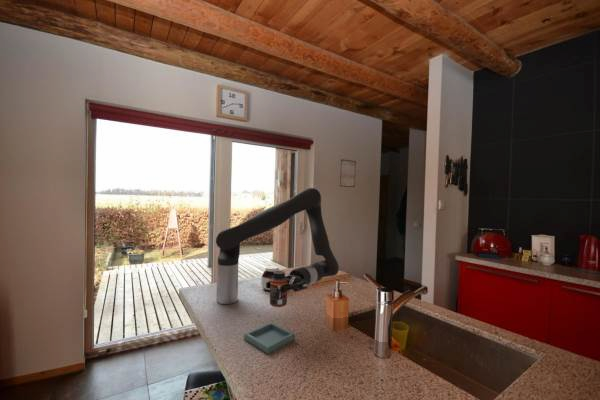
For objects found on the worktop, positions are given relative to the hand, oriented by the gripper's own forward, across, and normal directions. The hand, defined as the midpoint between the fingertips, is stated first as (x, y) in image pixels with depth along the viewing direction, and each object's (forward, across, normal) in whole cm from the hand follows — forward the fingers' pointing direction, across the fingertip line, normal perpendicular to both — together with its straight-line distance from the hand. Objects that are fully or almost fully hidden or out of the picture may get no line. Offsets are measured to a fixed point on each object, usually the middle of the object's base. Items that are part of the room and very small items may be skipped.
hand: (273, 287), depth 93 cm
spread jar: (-38, -35, +18) cm, 55 cm away
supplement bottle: (-2, 0, +7) cm, 7 cm away
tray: (+1, 0, +18) cm, 18 cm away
